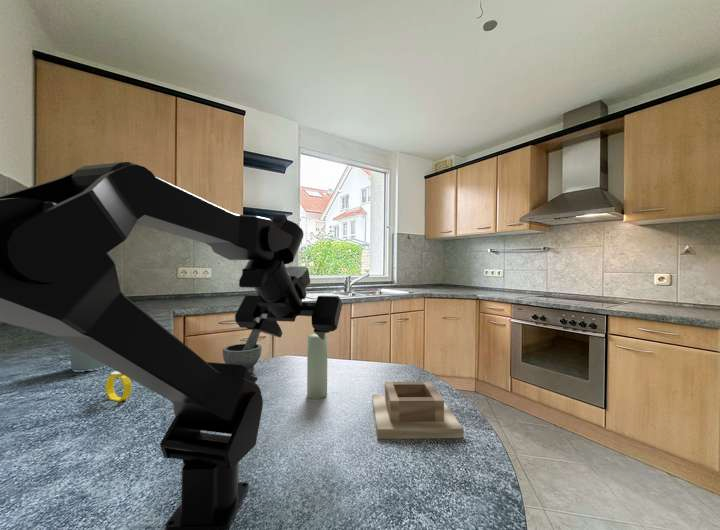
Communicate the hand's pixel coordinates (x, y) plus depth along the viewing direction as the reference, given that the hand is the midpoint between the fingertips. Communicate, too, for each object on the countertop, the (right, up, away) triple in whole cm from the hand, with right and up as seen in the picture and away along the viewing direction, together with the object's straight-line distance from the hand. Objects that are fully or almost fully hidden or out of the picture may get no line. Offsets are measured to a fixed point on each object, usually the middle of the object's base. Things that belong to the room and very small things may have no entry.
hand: (302, 336), depth 59 cm
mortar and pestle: (-20, -15, +22) cm, 34 cm away
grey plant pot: (-65, -15, +25) cm, 72 cm away
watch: (-40, -15, +4) cm, 43 cm away
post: (+2, -15, +7) cm, 16 cm away
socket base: (+21, -14, -4) cm, 26 cm away
